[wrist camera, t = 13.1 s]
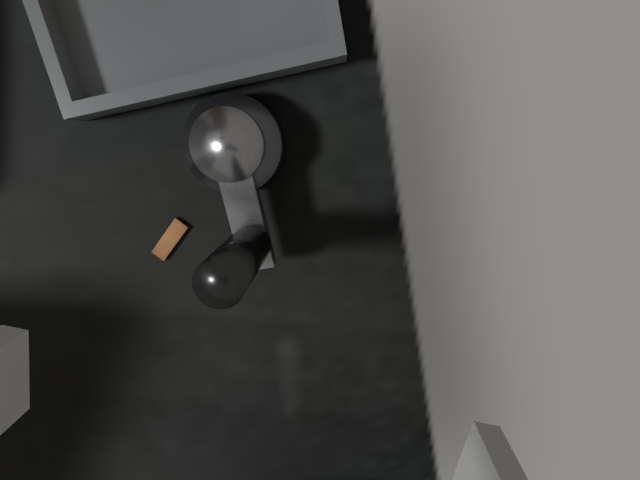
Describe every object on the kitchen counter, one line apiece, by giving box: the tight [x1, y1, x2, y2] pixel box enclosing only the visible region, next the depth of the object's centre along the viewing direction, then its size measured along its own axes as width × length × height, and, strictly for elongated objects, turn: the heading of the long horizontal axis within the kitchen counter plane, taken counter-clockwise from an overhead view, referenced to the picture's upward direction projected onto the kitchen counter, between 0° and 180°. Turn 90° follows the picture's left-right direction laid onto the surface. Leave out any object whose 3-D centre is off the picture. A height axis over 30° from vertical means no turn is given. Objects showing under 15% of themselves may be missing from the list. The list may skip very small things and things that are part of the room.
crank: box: [189, 106, 276, 309], centre depth 24 cm, size 12×5×9 cm, turn 11°
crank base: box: [152, 92, 285, 261], centre depth 29 cm, size 11×13×2 cm
